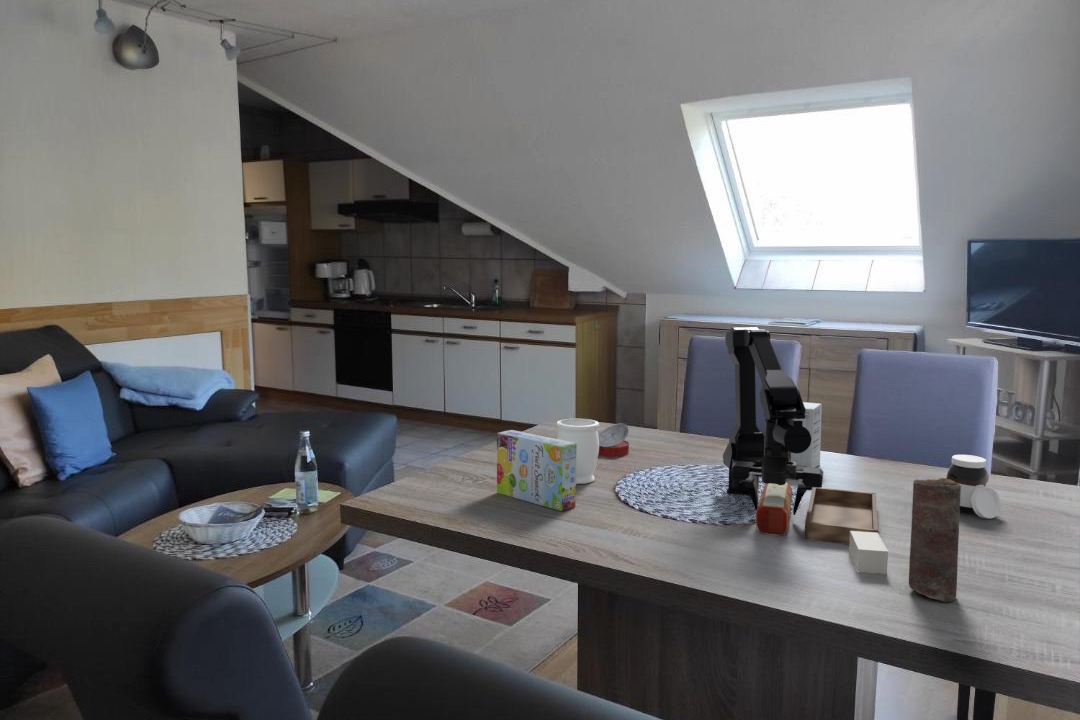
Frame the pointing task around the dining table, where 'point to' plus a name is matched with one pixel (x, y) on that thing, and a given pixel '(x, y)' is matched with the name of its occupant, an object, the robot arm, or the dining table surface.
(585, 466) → the jar
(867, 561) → the small white box
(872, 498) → the tray
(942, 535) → the weathered brick
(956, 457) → the spread jar
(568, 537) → the dining table surface
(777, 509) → the snack package
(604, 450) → the canned food
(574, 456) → the snack box
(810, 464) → the supplement box
